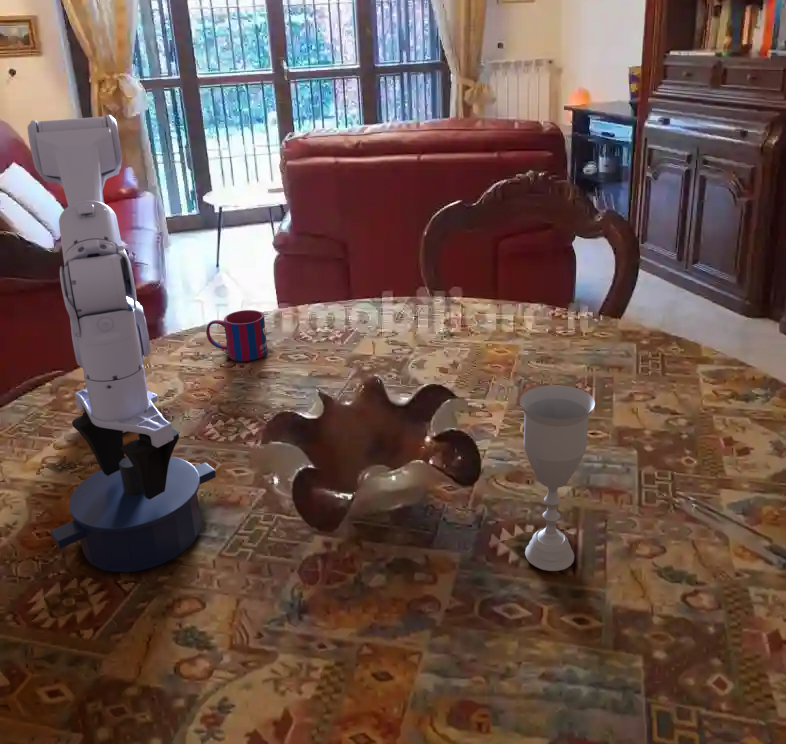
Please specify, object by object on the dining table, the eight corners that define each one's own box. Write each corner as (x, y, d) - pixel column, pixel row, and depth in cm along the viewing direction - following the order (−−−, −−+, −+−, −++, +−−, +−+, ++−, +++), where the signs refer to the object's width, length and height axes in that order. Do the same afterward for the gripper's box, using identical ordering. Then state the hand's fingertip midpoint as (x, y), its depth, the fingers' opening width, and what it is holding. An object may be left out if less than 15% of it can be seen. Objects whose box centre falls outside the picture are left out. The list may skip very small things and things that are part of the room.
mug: (261, 362, 126) (257, 324, 124) (204, 361, 127) (199, 324, 125) (272, 346, 132) (268, 309, 130) (217, 345, 133) (212, 309, 131)
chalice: (541, 586, 74) (549, 426, 68) (501, 547, 80) (505, 396, 73) (598, 561, 77) (610, 406, 71) (556, 525, 83) (564, 379, 77)
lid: (70, 480, 86) (62, 445, 84) (191, 453, 91) (186, 419, 89) (71, 551, 74) (62, 512, 72) (209, 515, 79) (204, 478, 77)
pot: (41, 545, 83) (31, 503, 81) (188, 478, 94) (183, 441, 92) (85, 604, 74) (76, 559, 72) (242, 522, 85) (237, 482, 83)
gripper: (190, 372, 76) (206, 486, 80) (108, 340, 84) (127, 446, 89) (129, 399, 70) (150, 520, 75) (48, 363, 79) (72, 473, 84)
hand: (134, 482), depth 82 cm, fingers open, 7 cm apart
